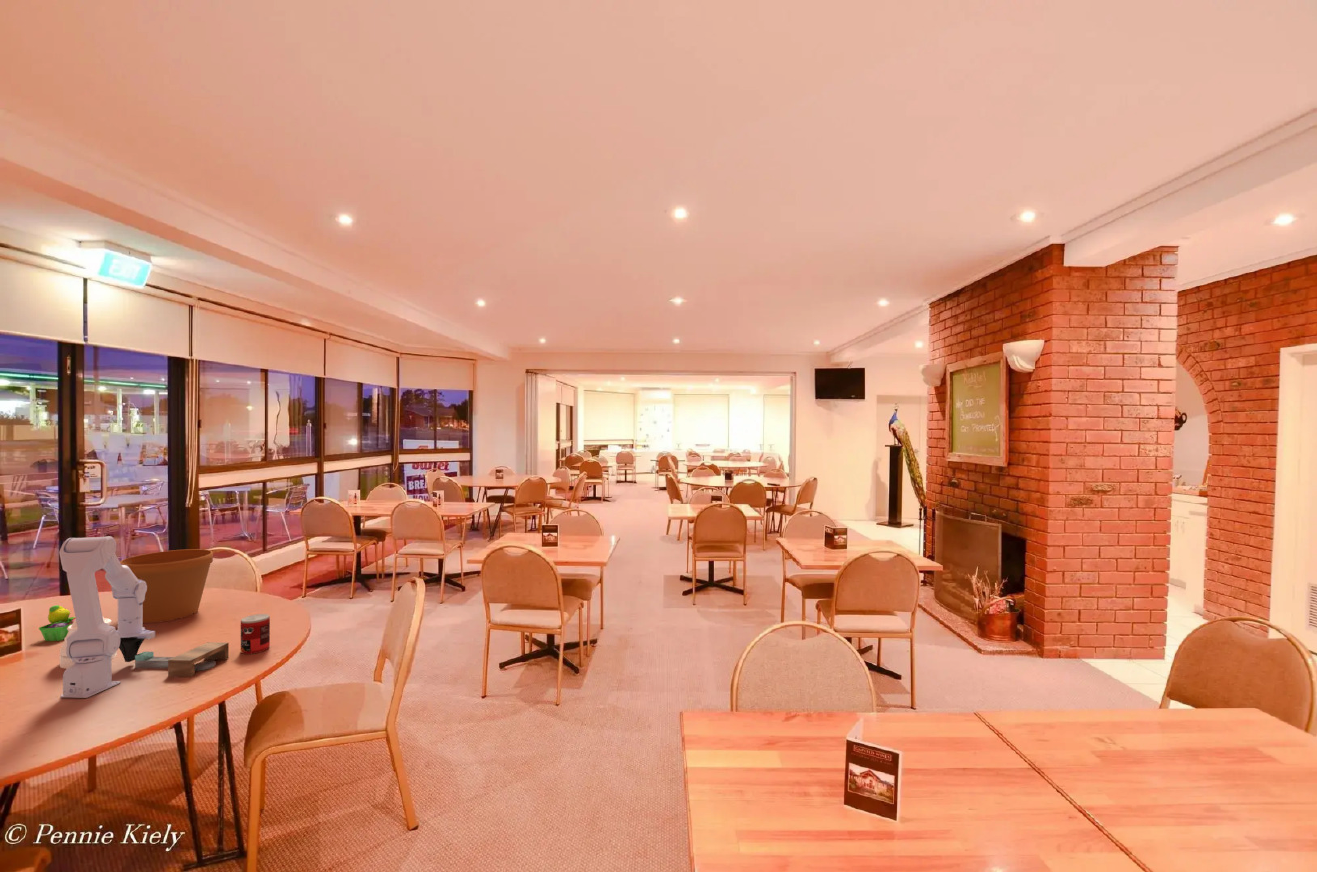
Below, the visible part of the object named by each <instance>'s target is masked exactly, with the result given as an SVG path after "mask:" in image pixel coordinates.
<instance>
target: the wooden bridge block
mask: <svg viewBox="0 0 1317 872" xmlns="http://www.w3.org/2000/svg"><path fill="white" fill-rule="evenodd" d="M229 646H230V645H229V642H217V641H216V642H214V641H212V642H210V641H209V642H206V643H204V644H201V645H199V646H197V647H194V648H192V649H189V650H187V651H185V652H183V653H181V654H178V655H176V656H173V657H174V658H171V659H169V660H168V668H167V677H171V678H172V677H173V678H174V677H175V678H176V677H181V678H191V677H193V676H195V671H194V665H195V664H197V663H199V661H200V662H201V660H222V661H223V660H227V659H229V657H230V656H229V651H230V650H229Z"/></svg>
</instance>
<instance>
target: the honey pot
mask: <svg viewBox="0 0 1317 872" xmlns="http://www.w3.org/2000/svg"><path fill="white" fill-rule="evenodd" d="M103 621H104V622H105V623H107V624H109V625H111V623H112V619H110V618H104V616H103ZM76 629H78V628H77V623H76V619H75V621H74V622H73V624H72V625H70V626H69V627H68V628H67V630H68V634H67V636H66V637H65V638H64V639H63V640H64V641H63V642H62V646H61V647H60V648H59V667H60V668H61V669H65V670H66V669H68V668H69V667H71V666H73V665H74V664H75V662H72V659H69V658H68V656H67V655H66V647H67V638H68V636H69V635H70V634H71V633H72V632H73V631H75V630H76ZM117 654H118V650H117V651H116V652H115V653H114V654H113V655H111V660H112V659H114V658H115V657H116V656H117Z"/></svg>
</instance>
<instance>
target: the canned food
mask: <svg viewBox="0 0 1317 872" xmlns="http://www.w3.org/2000/svg"><path fill="white" fill-rule="evenodd" d="M270 621H271V618H270V614H267V613H259V614H258V613H257V614H253V615H252V614H251V615H247V616H245V617H242V618H241V619H240V651H241V653H242V654H244V655H250V654H251V655H252V654H258V653H262V652H264V651H266V650H268V649H269V648H270V646H271V645H270V643H271V641H270V638H271V636H270V635H271V633H270V632H271V631H270V627H271V626H270V625H271V624H270V623H271V622H270Z"/></svg>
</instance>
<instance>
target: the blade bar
mask: <svg viewBox="0 0 1317 872" xmlns="http://www.w3.org/2000/svg"><path fill="white" fill-rule="evenodd" d="M174 657H175V656H155V655H154V651H141V652H140V653H137V655H135V660H134V667H135V668H134V669H168V660H169V659H171V658H174Z"/></svg>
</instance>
